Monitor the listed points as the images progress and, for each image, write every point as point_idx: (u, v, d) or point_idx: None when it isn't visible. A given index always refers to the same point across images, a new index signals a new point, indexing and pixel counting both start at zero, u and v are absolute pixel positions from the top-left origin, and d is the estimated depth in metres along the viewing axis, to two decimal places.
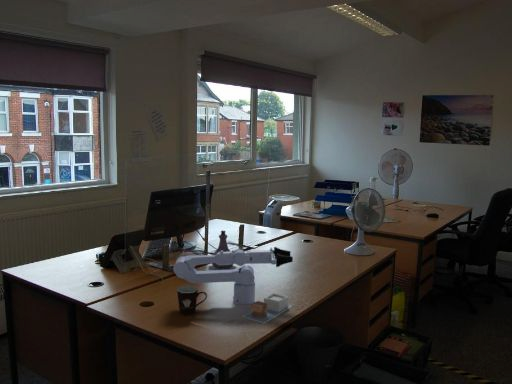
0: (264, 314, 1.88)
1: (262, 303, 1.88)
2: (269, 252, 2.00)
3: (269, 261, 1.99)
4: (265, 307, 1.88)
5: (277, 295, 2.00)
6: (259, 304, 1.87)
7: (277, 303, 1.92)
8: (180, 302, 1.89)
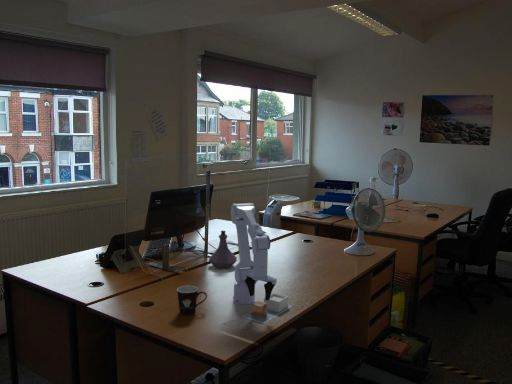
0: (264, 314, 1.88)
1: (262, 303, 1.88)
2: (253, 275, 1.85)
3: None
4: (265, 307, 1.88)
5: (277, 295, 2.00)
6: (259, 304, 1.87)
7: (277, 303, 1.92)
8: (180, 302, 1.89)
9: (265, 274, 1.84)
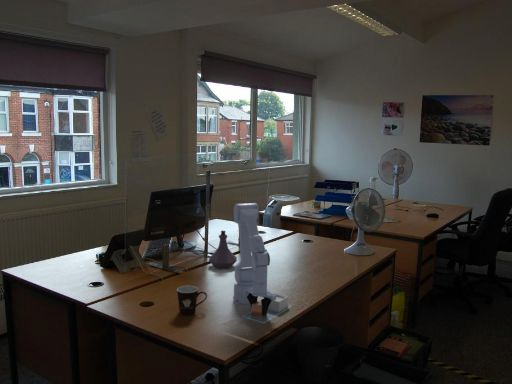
0: None
1: None
2: (253, 291, 1.86)
3: None
4: None
5: (277, 295, 2.00)
6: (259, 304, 1.87)
7: (277, 303, 1.92)
8: (180, 302, 1.89)
9: (265, 290, 1.85)
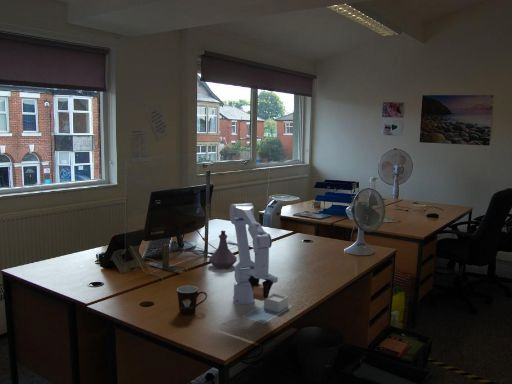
0: None
1: None
2: (255, 273, 1.86)
3: None
4: None
5: (277, 295, 2.00)
6: (260, 287, 1.86)
7: (277, 303, 1.92)
8: (180, 302, 1.89)
9: (266, 272, 1.85)
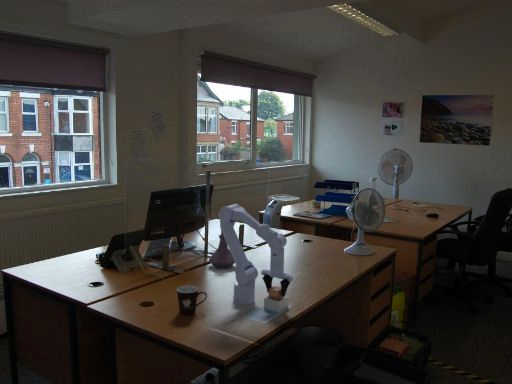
0: (280, 298, 1.96)
1: (278, 288, 1.96)
2: (271, 272, 1.94)
3: None
4: None
5: None
6: (276, 289, 1.95)
7: (277, 303, 1.92)
8: (180, 302, 1.89)
9: (282, 272, 1.93)
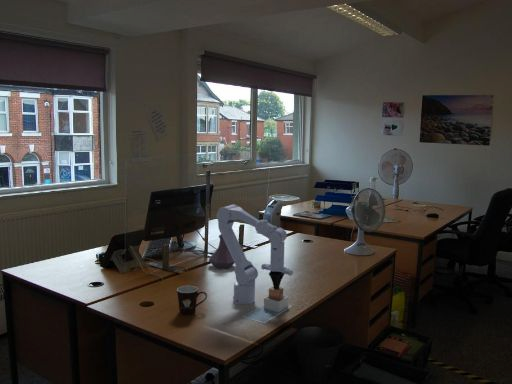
0: (280, 298, 1.96)
1: (278, 288, 1.96)
2: (271, 266, 1.93)
3: None
4: (281, 292, 1.96)
5: None
6: (276, 289, 1.95)
7: (277, 303, 1.92)
8: (180, 302, 1.89)
9: (282, 266, 1.93)
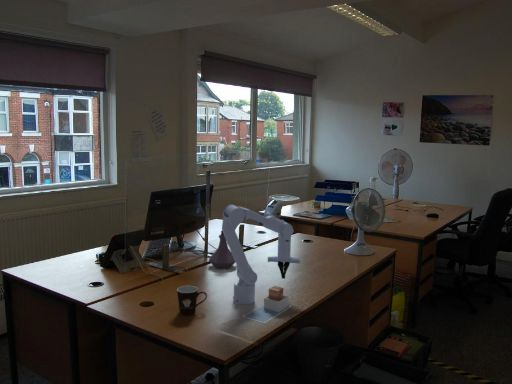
0: (280, 298, 1.96)
1: (278, 288, 1.96)
2: (280, 258, 2.06)
3: None
4: (281, 292, 1.96)
5: None
6: (276, 289, 1.95)
7: (277, 303, 1.92)
8: (180, 302, 1.89)
9: None
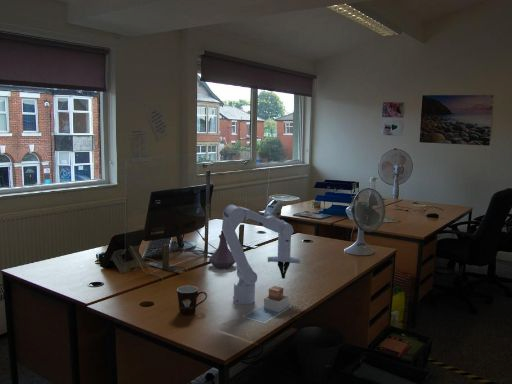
0: (280, 298, 1.96)
1: (278, 288, 1.96)
2: (280, 258, 2.06)
3: None
4: (281, 292, 1.96)
5: None
6: (276, 289, 1.95)
7: (277, 303, 1.92)
8: (180, 302, 1.89)
9: None
